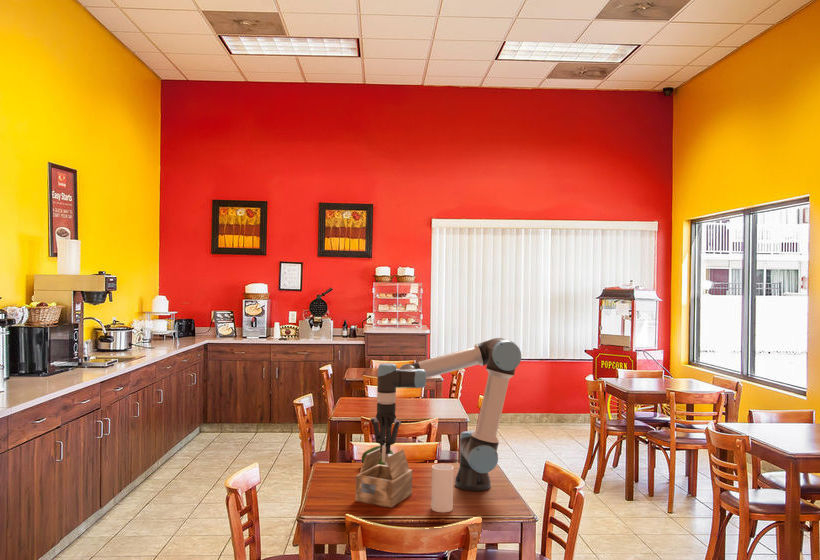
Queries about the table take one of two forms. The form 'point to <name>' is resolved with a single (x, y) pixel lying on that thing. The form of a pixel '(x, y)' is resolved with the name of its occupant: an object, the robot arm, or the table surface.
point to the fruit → (373, 450)
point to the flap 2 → (397, 463)
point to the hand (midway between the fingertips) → (384, 461)
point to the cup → (442, 488)
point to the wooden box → (383, 486)
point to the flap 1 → (371, 460)
